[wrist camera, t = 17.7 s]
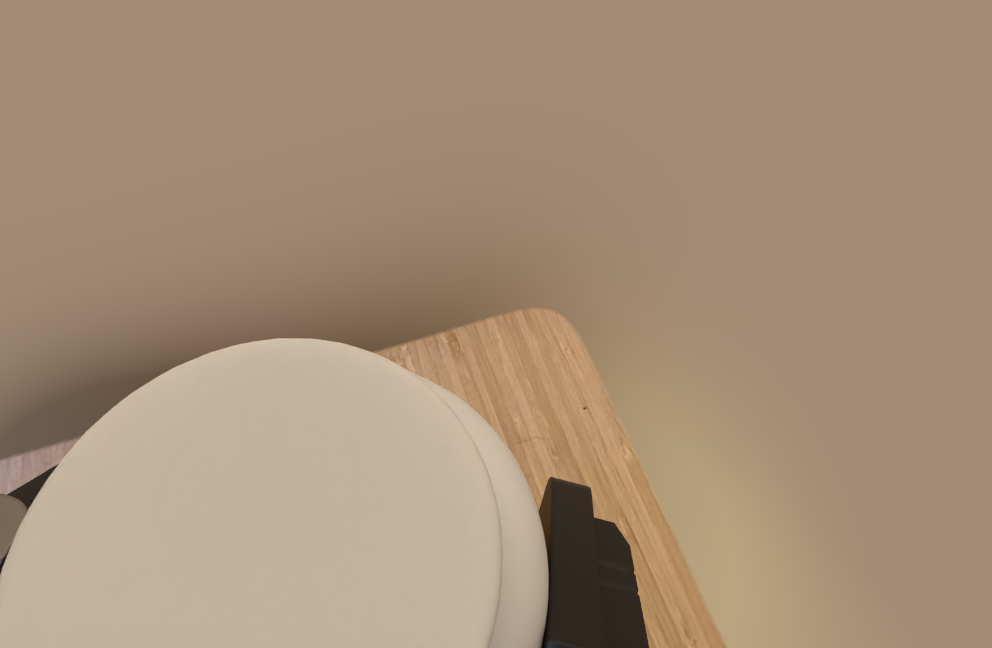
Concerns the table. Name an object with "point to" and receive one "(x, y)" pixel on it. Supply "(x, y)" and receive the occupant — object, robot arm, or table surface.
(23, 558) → the supplement bottle
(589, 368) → the table surface
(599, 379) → the table surface
